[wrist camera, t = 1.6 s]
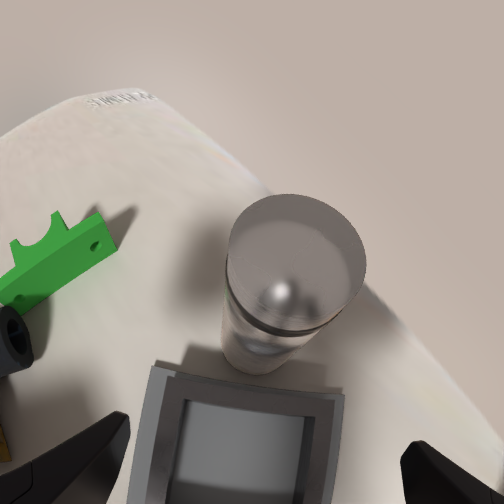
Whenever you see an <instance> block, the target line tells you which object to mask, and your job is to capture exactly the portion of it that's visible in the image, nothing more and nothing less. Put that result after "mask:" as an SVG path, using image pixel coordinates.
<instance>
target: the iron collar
mask: <svg viewBox="0 0 504 504" xmlns="http://www.w3.org/2000/svg"><path fill="white" fill-rule="evenodd" d="M186 401H191V402H196V403H201V404H206V405H211V406H217V407H223V408H229V409H235V410H241V411H248V412H256V413H264V414H272V415H282V416H293V417H305V418H304V426H303V434H302V442H301V449H300V456H299V463H298V469H297V476H296V482H295V488H294V494H293V500H292V504H321V502H322V497H323V491H324V485H325V478H326V472H327V465H328V458H329V450H330V443H331V434H332V425H333V416H334V405H335V400H330V399H315V398H303V397H292V396H283V395H274V394H266V393H259V392H251V391H245V390H238V389H232V388H226V387H221V386H215V385H210V384H205V383H200V382H195V381H190V380H185V379H181V378H176V377H172V376H167V381H166V385H165V390H164V395H163V400H162V405H161V410H160V415H159V420H158V426H157V431H156V437H155V442H154V448H153V453H152V459H151V465H150V472H149V478H148V484H147V491H146V498H145V504H169V500H170V494H171V487H172V481H173V475H174V469H175V463H176V457H177V451H178V445H179V440H180V434H181V428H182V423H183V418H184V412H185V407H186Z"/></svg>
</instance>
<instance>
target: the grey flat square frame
mask: <svg viewBox="0 0 504 504" xmlns="http://www.w3.org/2000/svg"><path fill="white" fill-rule="evenodd" d="M167 376H172V377H176V378H181V379H185V380H190V381H195V382H200V383H205V384H210V385H215V386H221V387H226V388H232V389H238V390H245V391H251V392H259V393H266V394H274V395H283V396H292V397H303V398H315V399H330V400H335V405H334V416H333V425H332V434H331V443H330V450H329V458H328V465H327V472H326V478H325V485H324V491H323V497H322V502H321V504H331V500H332V494H333V489H334V482H335V476H336V469H337V462H338V455H339V447H340V439H341V430H342V420H343V409H344V397H345V395H342V394H325V393H312V392H301V391H291V390H282V389H274V388H266V387H259V386H252V385H245V384H239V383H233V382H227V381H221V380H216V379H210V378H205V377H200V376H195V375H190V374H186V373H181V372H177V371H172V370H168V369H164V368H160V367H156V366H152V367H151V371H150V375H149V380H148V384H147V389H146V394H145V398H144V403H143V408H142V413H141V418H140V423H139V429H138V434H137V439H136V445H135V451H134V457H133V463H132V469H131V475H130V482H129V489H128V496H127V504H145V498H146V491H147V484H148V478H149V472H150V465H151V459H152V453H153V448H154V442H155V437H156V431H157V426H158V420H159V415H160V410H161V405H162V400H163V395H164V390H165V385H166V381H167ZM304 418H305V417H293V416H282V415H272V414H264V413H256V412H248V411H241V410H235V409H229V408H223V407H217V406H211V405H206V404H201V403H196V402H191V401H186V407H185V412H184V418H183V423H182V428H181V434H180V440H179V445H178V451H177V457H176V463H175V469H174V475H173V481H172V487H171V494H170V500H169V504H292V500H293V494H294V488H295V482H296V476H297V469H298V463H299V456H300V449H301V442H302V434H303V426H304Z"/></svg>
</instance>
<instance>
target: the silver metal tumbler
mask: <svg viewBox="0 0 504 504" xmlns="http://www.w3.org/2000/svg"><path fill="white" fill-rule="evenodd" d="M365 273H366V255H365V250H364V247H363V244H362V241H361V239H360V237H359V235H358V233H357V232H356V230H355V228H354V227H353V226H352V225H351V223H350V222H349V221H348V220H347V219H346V218H345V217H344V216H343V215H342V214H341V213H339V212H338V211H337V210H335V209H334V208H332V207H331V206H329V205H327V204H325V203H324V202H321V201H319V200H316V199H314V198H310V197H307V196H302V195H295V194H282V195H274V196H269V197H266V198H263V199H261V200H259V201H257V202H255V203H253V204H252V205H250V206H249V207H248V208H246V209H245V210H244V211H243V212H242V213H241V215H240V216H239V217H238V218H237V220H236V222H235V223H234V226H233V228H232V231H231V235H230V240H229V250H228V255H227V260H226V270H225V283H226V284H225V295H224V307H223V319H222V332H221V347H222V351H223V353H224V355H225V357H226V359H227V360H228V362H229V363H230V364H231V365H232V366H233V367H235V368H236V369H238V370H239V371H241V372H244V373H247V374H251V375H262V374H267V373H270V372H272V371H274V370H276V369H277V368H278V367H280V366H281V365H282V364H283V363H284V362H285V361H287V360H288V359H289V358H290V357H291V356H292V355H293V354H294V353H296V352H297V351H298V350H299V349H300V348H301V347H302V346H303V345H305V344H306V343H307V342H308V341H309V340H310V339H311V338H312V337H313V336H314V335H315V334H317V333H318V332H319V331H320V330H321V329H322V328H324V327H325V326H326V325H328V324H329V323H330V322H331V321H332V320H333V319H334V318H335V317H336V316H337V315H338V314H339V313H340V312H341V311H342V309H343V308H344V307H345V306H346V305H347V304H348V303H349V302H350V301H351V300H352V299H353V297H354V296H355V295H356V294H357V292H358V291H359V289H360V288H361V285H362V283H363V281H364V277H365Z"/></svg>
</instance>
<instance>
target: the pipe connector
mask: <svg viewBox="0 0 504 504" xmlns="http://www.w3.org/2000/svg"><path fill="white" fill-rule="evenodd" d="M33 358H34V357H33V352H32V347H31V342H30V336H29V332H28V329H27V327H26V325H25V323H24V321H23V319H22V318H21V316H20V315H19V313H18V312H17V311H16V310H15V309H14V308H12V307H11V306H4V307H2V308H0V377H3V376H6V375H9V374H12V373H15V372H18V371H21V370H24V369H27V368H29V367H31V365H32V363H33ZM7 461H12V460H11V457H10V454H9V451H8V448H7V445H6V442H5V439H4V435H3V432H2V429H1V425H0V462H7Z"/></svg>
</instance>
